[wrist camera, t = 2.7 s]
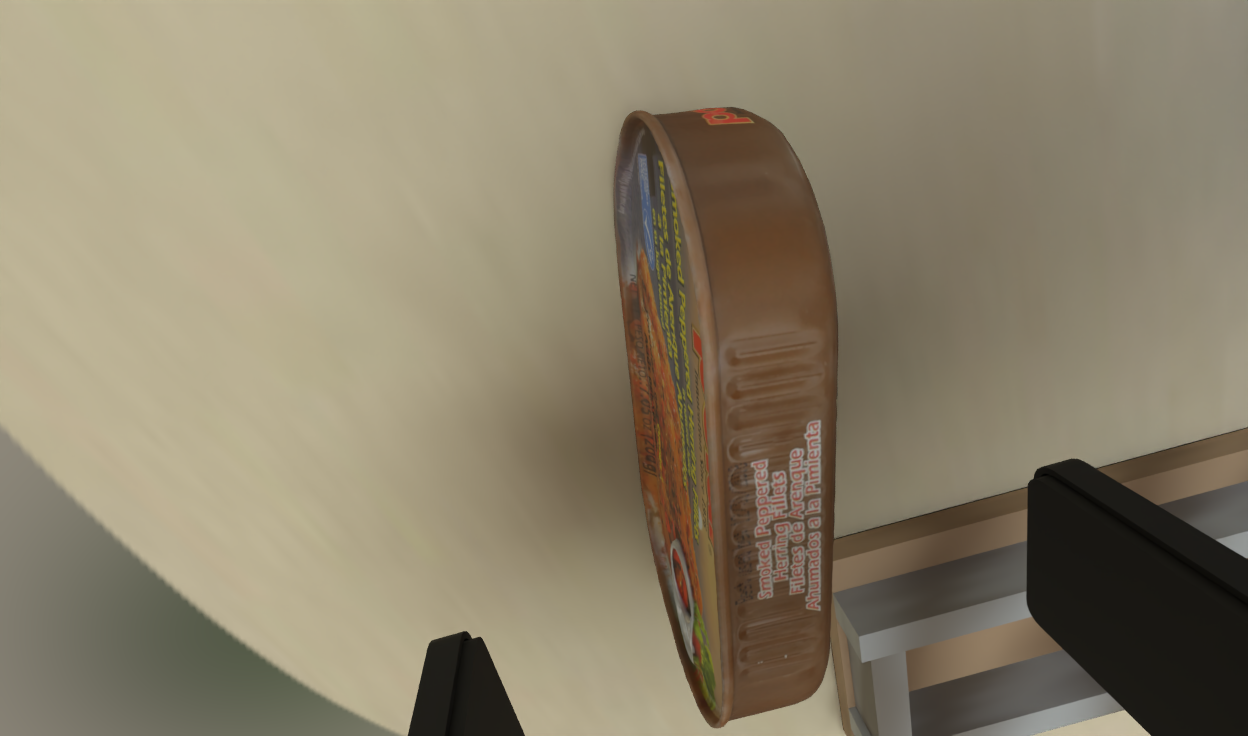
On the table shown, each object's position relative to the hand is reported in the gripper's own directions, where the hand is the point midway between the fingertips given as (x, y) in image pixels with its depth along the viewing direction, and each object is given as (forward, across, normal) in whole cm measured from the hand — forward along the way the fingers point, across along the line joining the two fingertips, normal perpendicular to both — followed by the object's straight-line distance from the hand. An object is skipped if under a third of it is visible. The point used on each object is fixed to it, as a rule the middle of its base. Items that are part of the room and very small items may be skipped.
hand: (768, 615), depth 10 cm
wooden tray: (+10, -15, +12) cm, 22 cm away
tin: (+10, -1, 0) cm, 10 cm away
